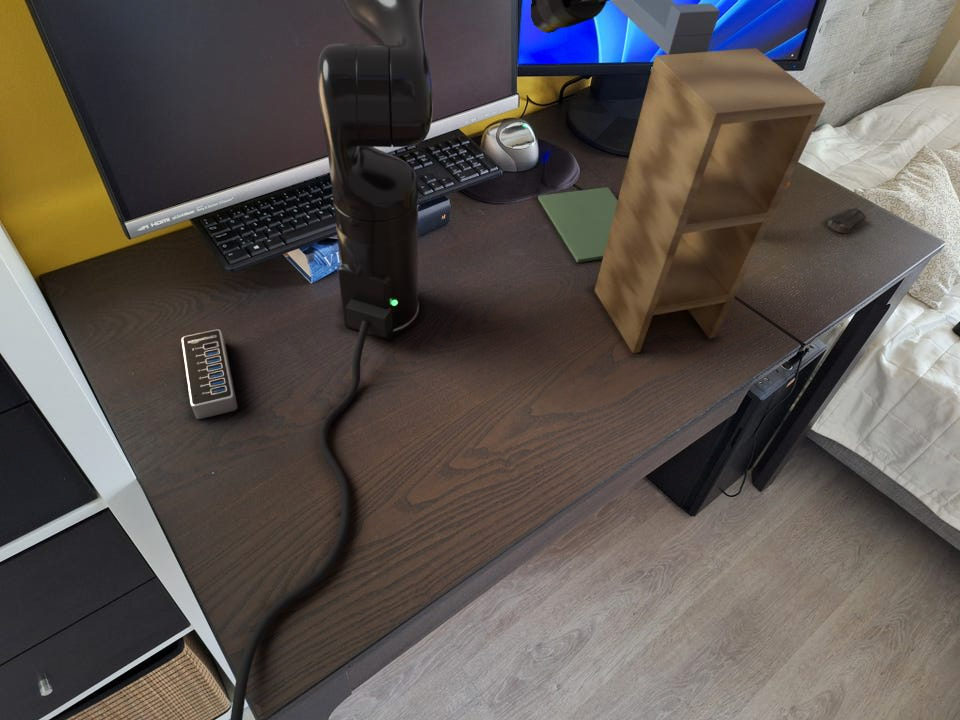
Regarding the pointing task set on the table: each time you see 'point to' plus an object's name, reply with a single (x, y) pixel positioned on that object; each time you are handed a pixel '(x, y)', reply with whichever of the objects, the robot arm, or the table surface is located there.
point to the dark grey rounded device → (846, 220)
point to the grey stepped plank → (673, 23)
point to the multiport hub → (208, 374)
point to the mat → (582, 220)
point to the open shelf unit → (701, 185)
